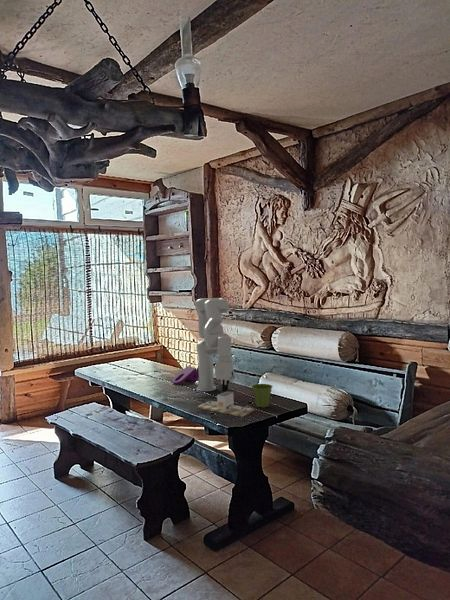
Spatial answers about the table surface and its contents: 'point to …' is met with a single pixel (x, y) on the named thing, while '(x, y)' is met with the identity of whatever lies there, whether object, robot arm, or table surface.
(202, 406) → the rail board
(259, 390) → the plant pot
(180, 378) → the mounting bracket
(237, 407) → the rail
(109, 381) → the table surface
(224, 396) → the box
